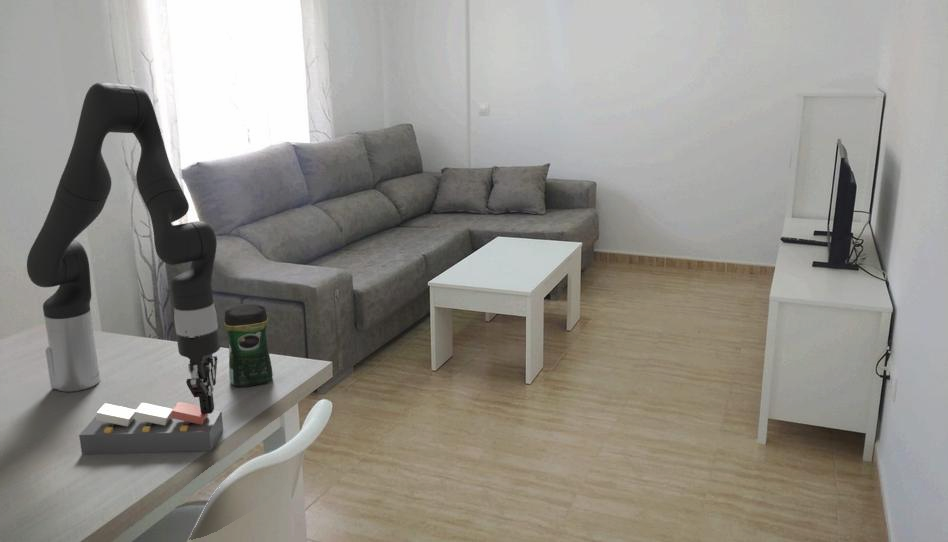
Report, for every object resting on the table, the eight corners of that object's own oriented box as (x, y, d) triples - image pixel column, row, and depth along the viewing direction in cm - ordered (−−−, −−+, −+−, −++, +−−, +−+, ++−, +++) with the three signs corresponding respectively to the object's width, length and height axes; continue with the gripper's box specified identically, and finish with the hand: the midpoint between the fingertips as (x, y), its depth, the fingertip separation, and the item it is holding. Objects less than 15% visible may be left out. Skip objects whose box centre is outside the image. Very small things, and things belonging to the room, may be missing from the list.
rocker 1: (95, 419, 148) (96, 412, 147) (103, 410, 152) (105, 403, 151) (127, 426, 149) (129, 419, 148) (135, 417, 152) (136, 409, 152)
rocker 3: (170, 418, 149) (172, 410, 148) (177, 408, 153) (178, 401, 152) (202, 424, 149) (203, 417, 149) (208, 415, 153) (209, 408, 153)
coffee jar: (270, 371, 185) (265, 296, 180) (274, 383, 178) (269, 307, 173) (228, 376, 182) (221, 301, 177) (230, 390, 175) (223, 311, 170)
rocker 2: (133, 419, 148) (134, 411, 148) (140, 409, 152) (141, 402, 152) (165, 425, 149) (166, 418, 149) (171, 416, 153) (173, 409, 152)
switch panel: (82, 454, 147) (78, 430, 146) (101, 431, 156) (97, 408, 154) (211, 450, 148) (209, 427, 147) (223, 428, 157) (221, 406, 156)
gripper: (187, 317, 153) (197, 398, 157) (165, 341, 140) (177, 428, 144) (225, 315, 153) (235, 396, 158) (207, 339, 140) (218, 426, 145)
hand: (207, 412), depth 151 cm, fingers closed
